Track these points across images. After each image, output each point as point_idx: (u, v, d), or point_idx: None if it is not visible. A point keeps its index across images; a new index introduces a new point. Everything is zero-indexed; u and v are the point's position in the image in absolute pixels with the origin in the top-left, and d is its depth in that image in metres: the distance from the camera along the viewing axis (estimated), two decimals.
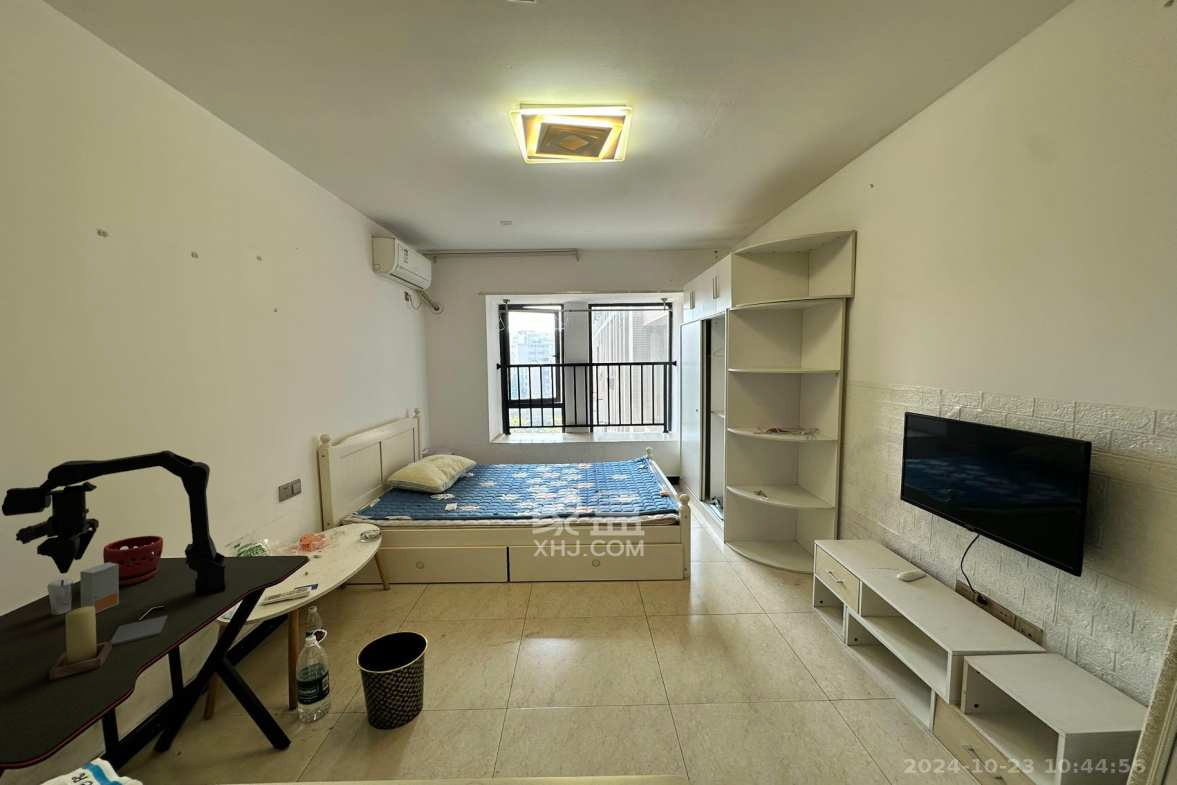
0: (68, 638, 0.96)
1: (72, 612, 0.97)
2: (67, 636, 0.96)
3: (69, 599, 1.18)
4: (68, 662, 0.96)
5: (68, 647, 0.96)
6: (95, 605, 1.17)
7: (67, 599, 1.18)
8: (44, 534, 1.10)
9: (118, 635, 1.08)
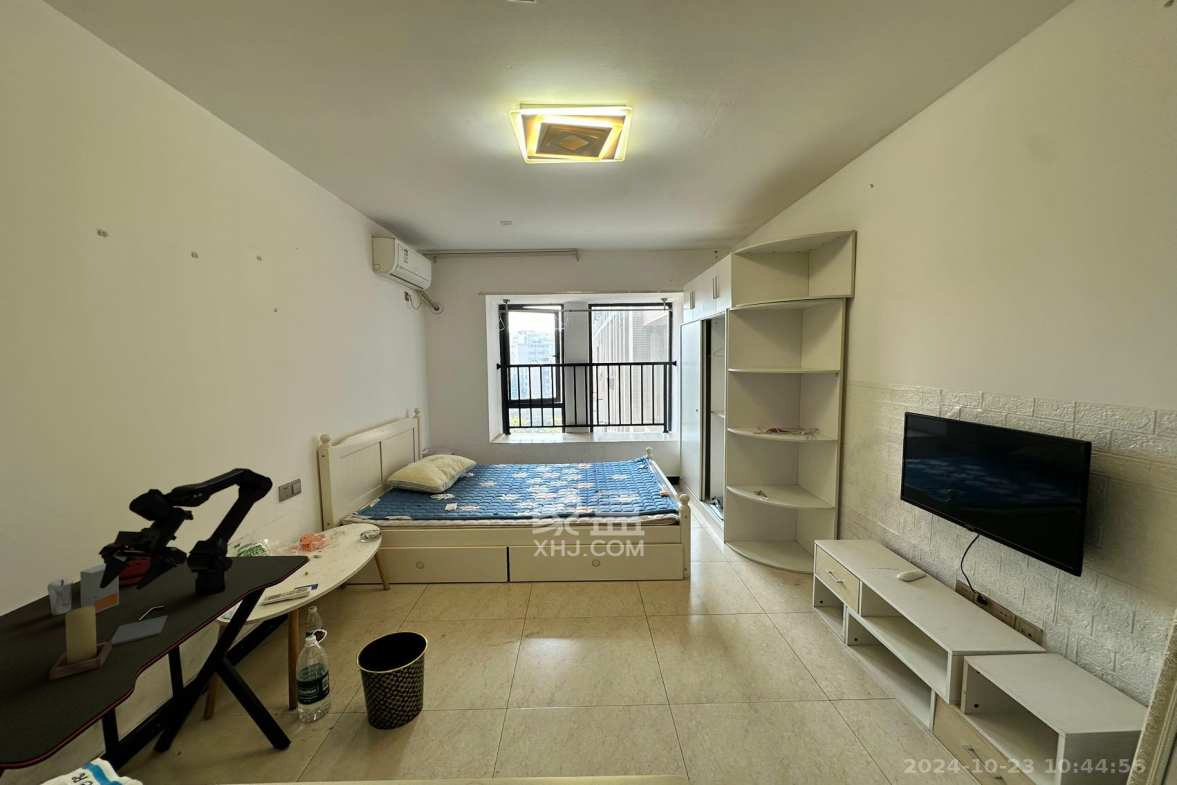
0: (68, 638, 0.96)
1: (72, 612, 0.97)
2: (67, 636, 0.96)
3: (69, 599, 1.18)
4: (68, 662, 0.96)
5: (68, 647, 0.96)
6: (95, 605, 1.17)
7: (67, 599, 1.18)
8: (147, 542, 1.10)
9: (118, 635, 1.08)
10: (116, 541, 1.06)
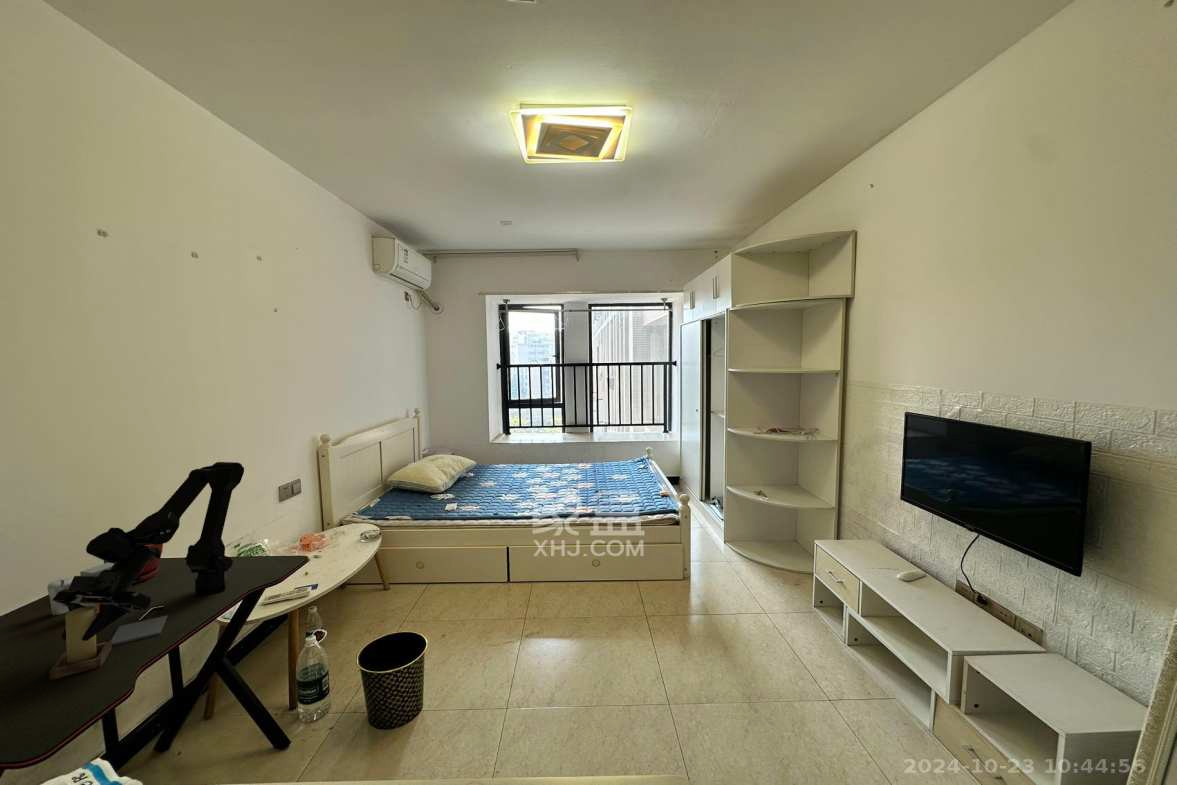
0: (68, 638, 0.96)
1: (72, 612, 0.97)
2: (67, 636, 0.96)
3: None
4: (68, 662, 0.96)
5: (68, 647, 0.96)
6: (95, 605, 1.17)
7: None
8: (105, 587, 1.01)
9: (118, 635, 1.08)
10: (70, 588, 0.97)
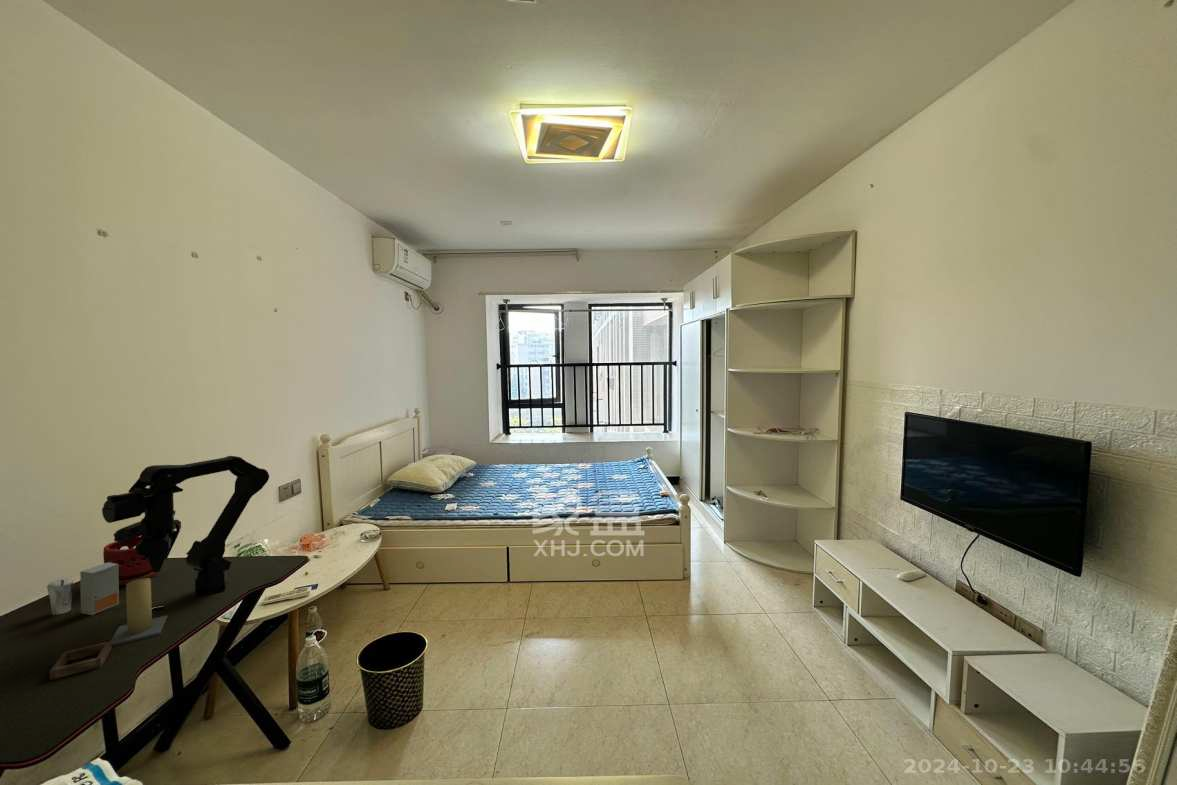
0: (128, 605, 1.08)
1: (131, 583, 1.10)
2: (128, 603, 1.08)
3: (69, 599, 1.18)
4: (128, 627, 1.09)
5: (128, 613, 1.08)
6: (95, 605, 1.17)
7: (67, 599, 1.18)
8: (138, 535, 1.15)
9: (118, 635, 1.08)
10: None
